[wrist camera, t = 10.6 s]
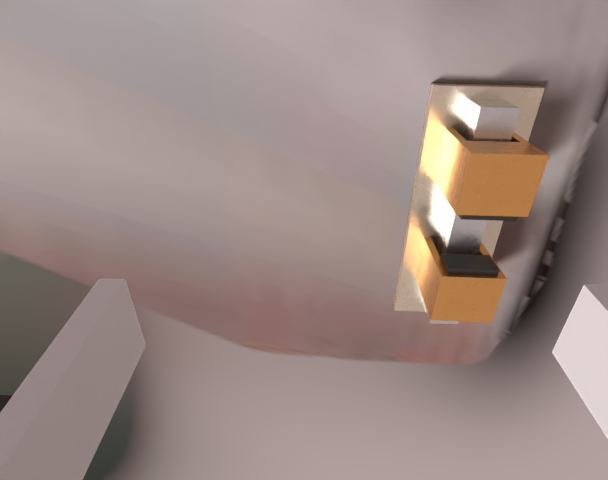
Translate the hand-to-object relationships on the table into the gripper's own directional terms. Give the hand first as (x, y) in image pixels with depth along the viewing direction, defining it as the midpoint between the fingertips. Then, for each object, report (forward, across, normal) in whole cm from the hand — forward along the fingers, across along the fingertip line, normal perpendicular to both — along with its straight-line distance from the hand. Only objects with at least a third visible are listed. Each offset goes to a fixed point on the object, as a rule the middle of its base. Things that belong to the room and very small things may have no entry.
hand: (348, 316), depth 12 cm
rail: (+26, +13, -11) cm, 31 cm away
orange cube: (+25, +13, -16) cm, 32 cm away
